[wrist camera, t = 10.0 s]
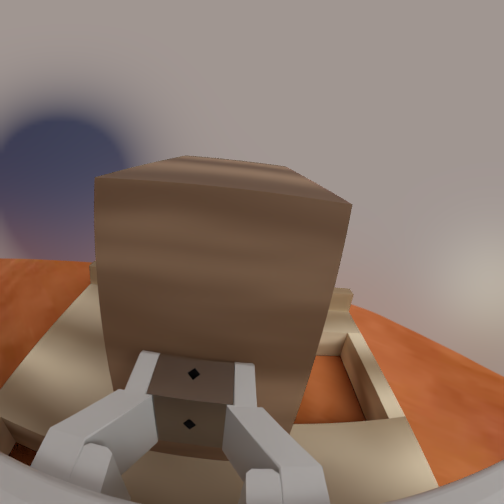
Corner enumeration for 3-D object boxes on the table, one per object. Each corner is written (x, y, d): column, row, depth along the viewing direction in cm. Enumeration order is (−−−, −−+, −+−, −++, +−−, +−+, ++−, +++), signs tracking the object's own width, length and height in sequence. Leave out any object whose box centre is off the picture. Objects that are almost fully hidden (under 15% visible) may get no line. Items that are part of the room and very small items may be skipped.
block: (278, 462, 10) (352, 204, 7) (127, 445, 10) (94, 177, 6) (262, 313, 21) (285, 166, 18) (176, 304, 21) (185, 155, 18)
